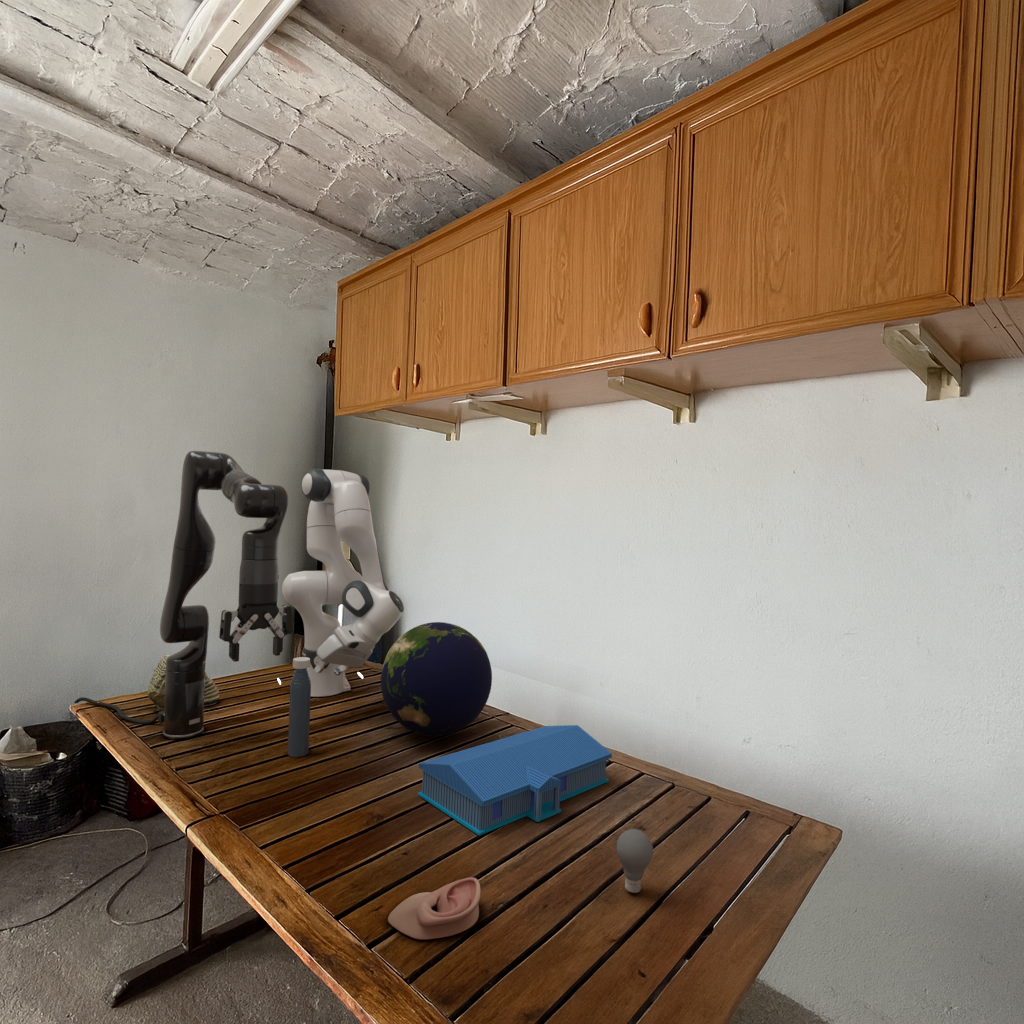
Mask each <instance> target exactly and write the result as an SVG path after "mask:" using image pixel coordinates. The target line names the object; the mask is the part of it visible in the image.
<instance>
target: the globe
mask: <svg viewBox="0 0 1024 1024" xmlns="http://www.w3.org/2000/svg"><path fill="white" fill-rule="evenodd" d="M380 673H381V674H380V688H381V689H380V690H381V694H382V697H383V701H384V703H385V706H386V708H387V710H388V711H389V713H390V715H391V716H392V717H393V718H394V719H395V721H397V722H398V723H399V724H400V725H401V726H402V727H404V728H405V729H406V730H409V731H410V732H412V733H415V734H417V735H421V736H424V737H443V736H444V737H445V736H449V735H452V734H455V733H457V732H459V731H461V730H464V729H465V728H467V727H468V726H469V725H470V724H472V723H473V722H474V721H475V720H476V719H477V718H478V717H479V716H480V714H481V713H482V711H483V710H484V708H485V706H486V704H487V702H488V700H489V698H490V694H491V690H492V684H493V683H492V682H493V671H492V666H491V660H490V658H489V656H488V652H487V651H486V649H485V647H484V645H483V644H482V643H481V642H480V640H479V639H478V638H477V637H476V636H475V635H473V634H472V633H471V632H469V631H468V630H467V629H466V628H463V627H461V626H460V625H457V624H453V623H450V622H445V621H434V622H432V621H431V622H428V623H423V624H419V625H416V626H415V627H413V628H411V629H409V630H407V631H406V632H404V633H403V634H402V635H401V636H399V637H398V638H397V639H396V641H395V642H394V643H392V645H391V647H390V648H389V650H388V652H387V653H386V656H385V658H384V660H383V664H382V668H381V672H380Z"/></svg>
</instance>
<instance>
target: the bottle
mask: <svg viewBox="0 0 1024 1024" xmlns="http://www.w3.org/2000/svg"><path fill="white" fill-rule="evenodd" d="M311 697H312V696H311V680H310V677H309V674H308V671H307V668H305V669H296V668H294V671H293V674H292V677H291V680H290V684H289V701H288V703H289V705H288V729H287V731H288V732H287V756H289V757H291V758H300V757H304V756H306V755H308V754H309V750H310V721H311V700H312V699H311Z"/></svg>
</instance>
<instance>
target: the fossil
mask: <svg viewBox="0 0 1024 1024" xmlns="http://www.w3.org/2000/svg"><path fill="white" fill-rule="evenodd" d="M171 655H172V654H165V655H164V656H163V657H162V658H161V659H160V660H159V662H158V663H157V666H156V667H155V669H154V670H153V672H152V675H151V677H150V680H149V684H148V688H147V697H148V699H149V700H150V701H152V703H153V704H154V706H155V711H158V712H161V711H164V705H165V674H166V660H167V658H168V657H169V656H171ZM220 698H221V696H220V690H219V688H218V686H217V685H216V683H215V682H214V681H213V679H212V678H211V677H209V675H208V674H207V672H206V671H205V693H204V707H207V706H213V705H215V704H217V703H218V701H219V699H220Z"/></svg>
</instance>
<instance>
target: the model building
mask: <svg viewBox="0 0 1024 1024" xmlns="http://www.w3.org/2000/svg"><path fill="white" fill-rule="evenodd" d="M612 758H613V753H612V752H611V751H610V750H609V749H608V748H606V747H605V746H604V745H603V744H601V743H600V742H599V741H597V740H596V739H595V738H594V737H593V736H591V735H590V733H588V732H587V731H586V730H584V729H583V728H582V727H581V726H579V725H578V724H571V725H569V724H567V725H544V726H541V727H538V728H533V729H530V730H526V731H524V732H520V733H517V734H514V735H510V736H505V737H504V738H500V739H497V740H493V741H489V742H486V743H484V744H480V745H476V746H473V747H469V748H466V749H463V750H459V751H457V752H456V751H455V752H452V753H449V754H446V755H442V756H439V757H436V758H432V759H428V760H425V761H422V762H418V769H420V770H421V771H422V782H421V783H422V785H421V791H419V792H417V796H419V797H420V798H421V799H423V800H425V802H428V803H429V804H431V805H432V806H433V807H435V808H436V809H438V810H439V811H441V812H443V813H444V814H445V815H447V816H449V817H450V818H452V819H453V820H455V821H456V822H458V823H459V824H461V825H462V826H464V827H465V828H467V829H468V830H470V831H471V832H473V833H474V834H476V835H477V836H478V837H480V836H482V835H485V834H487V833H489V832H491V831H494V830H496V829H499V828H501V827H504V826H506V825H508V824H511V823H514V822H515V821H518V820H520V819H524V818H525V817H527V818H530V819H531V820H532V821H535V822H536V823H539V822H541V821H543V820H546V819H549V818H551V817H553V816H555V815H558V814H560V813H562V808H561V807H560V806H561V805H560V804H561V802H563V801H566V800H568V799H570V798H573V797H575V796H577V795H580V794H582V793H585V792H587V791H590V790H591V789H594V788H597V787H599V786H601V785H603V784H606V783H609V782H610V779H609V778H607V777H606V775H607V774H606V773H607V760H610V759H612Z"/></svg>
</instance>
